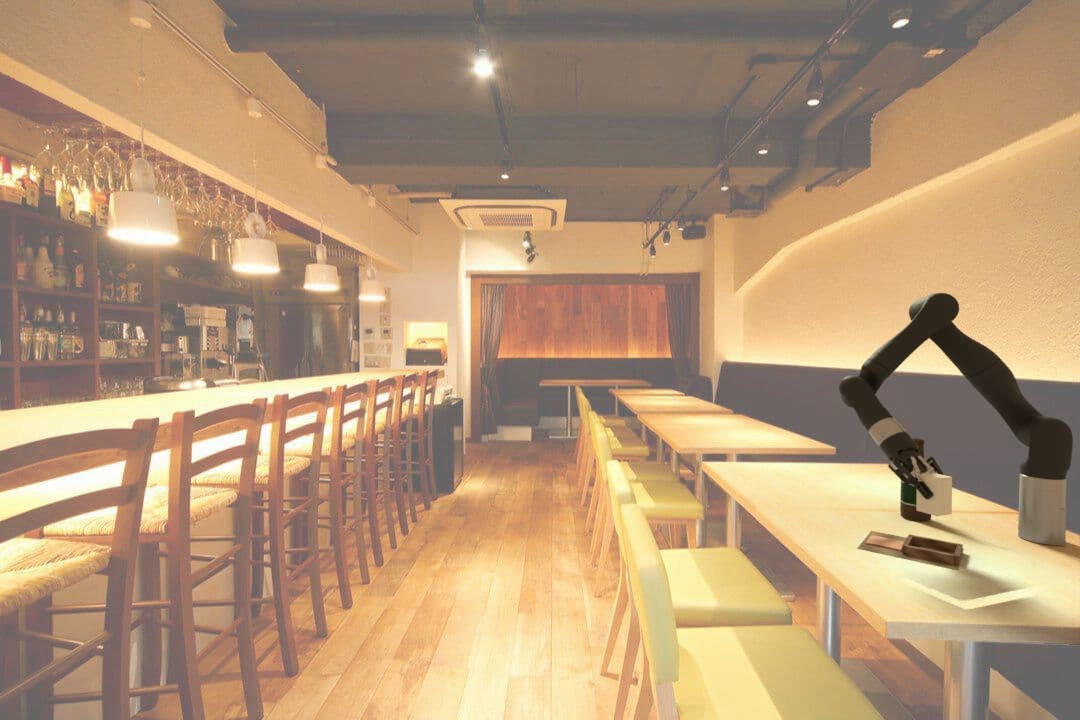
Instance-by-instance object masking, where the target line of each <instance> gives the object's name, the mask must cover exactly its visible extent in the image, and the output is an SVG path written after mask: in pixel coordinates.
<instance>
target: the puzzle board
mask: <svg viewBox="0 0 1080 720" xmlns="http://www.w3.org/2000/svg"><path fill="white" fill-rule="evenodd" d="M963 546H964V545H963V544H961V543H957V542H951V541H946V540H941V539H936V538H931V537H926V536H920V535H916V534H915V535H914V534H911V533H909V534H908V535H907V537H905V536H899V535H894V534H890V533H885V532H878V531H874V530H871V531H869V533H868V534H867V536H866V537H865V538H864V539H863V540H862V541H861V543H860V544H859V545H858V546H857V548H856V549H858V550H861V551H866V552H870V553H871V552H872V553H876V554H881V555H885V556H889V557H893V558H899V559H904V560H907V561H911V562H918V563H921V564H927V565H933V566H935V567H941V568H945V569H950V570H953V571H959V568H960V563H961V560H962V556H963V552H964V548H963Z"/></svg>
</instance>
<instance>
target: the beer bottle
mask: <svg viewBox="0 0 1080 720" xmlns="http://www.w3.org/2000/svg"><path fill="white" fill-rule="evenodd" d="M912 439H913V440H914V441H915V442H916V444H917V445H918V453H919V454H920V455H922V456H923V457H924V458H925V449H924V446H925V445H924V444H925V440H924V439H922V438H912ZM927 471H928V470H927V468H926V470H925V471H924V472H923V473H925V472H927ZM903 476H904V477H905V478H906V476H905V474H903ZM906 479H907V478H906ZM899 501H900V502H899V503H900V506H899V508H900V516H901V517H902V518H903V519H906V520H908V519H909V521H913V522H923V523H926V522H929V521H931V520H932V515H931V514H927V513H924V512H920V511H917V510H916V502H917V488H916V487H914V486H912V485H911V484H908V485H906V484H905V483H904V482H903V481H902V480H901V479H900V499H899Z"/></svg>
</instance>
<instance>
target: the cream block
mask: <svg viewBox="0 0 1080 720" xmlns="http://www.w3.org/2000/svg"><path fill="white" fill-rule="evenodd" d="M936 473H937V472H935V473H922V474H919V476H920V477H921V478H922V482H924V483H925V484H926V485H927V486H928V488H929V489H930V490H931V491H932V493H933V494H934V495H933V497H931V498H930V499H925V498H924V497H923V496H922V495H921V493H920V492H919V491H918V490H917V502H916V510H917V511H920V512H924V513H927V514H931V516H935V517H940V516H941V517H942V516H948V515H952V511H953V510H952V509H953V508H952V507H953V502H952V501H953V477H952V476H950V475H945V474H944V475H941V474H938V473H937V474H936Z"/></svg>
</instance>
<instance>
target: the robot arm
mask: <svg viewBox="0 0 1080 720" xmlns="http://www.w3.org/2000/svg"><path fill="white" fill-rule="evenodd" d="M959 312H960V304H959V301H958V300H957V299H956V297H955V296H954V295H951V294H949V293H946V292H938V293H937V292H936V293H932V294H929V295H926V296H923V297H921V298H918V299H916V300H915V301H913V302H912V303H911V304H910V305H909V308H908V317H909V319H910V322H909V323H908V324H907V325H906V326H905V327H903V328H902V329H901V330H900V331H899V332H898V333H896V334H895V335H894V336H893V337H891V338H889V340H887V341H885V342H884V343H883V344H881V346H879V348H877V349H876V350H875V351H874V352H873V353H872V354H871V355H870V356H869V357H868V358H867V359H866V360H865V362H863V364H862V365H861V368H860V373H859V374H858V375H855V374H853V375H852V374H851V375H847V376H845V377H844V378H842V380H840V382H839V385H838V389H839V390H838V391H839V392H840V393H839V394H840V396H841V399H842V402H843V404H845V405H846V406H847V407H849V408H852V409H854V411H855V413H856V415H857V417H858V420H859V421H860V423H861V424H862V425H863V427H864V428H865V429H866V430H867V432H868V433H869V434H870V436H871V438H872V439H873V441H874V443H876V445H877V446H878V448H879V449H880V450H881V451H882V453H883V454H884V455H885V456H886V458H887V459H888V461H890V462H891V463H890V464H888V465H887V466H888V468H889V469H890V470H891V471H892V473H893V474H895V475H896V477H898V478H899V479H900V481H901V480H902V481H903V482H904V483H905V484H906V485H908V484H911V485H912V486H914V487H916V488H917V490H918V491H919V492H920V493H921V495H922V496H923V497H924V498H925V499H930V498H931V497H933V495H934V494H933V493H932V491H931V490H930V489H929V488H928V486H927V485H926V484H925V483H924V482H922V478H921V477H920V476H919V474H922V473H923V472H924V471H925V470H926V468H927V470H928V471H927V472H925V473H936V474H941V475H945V474H944V472H943V471H942V469H941V467H940V466H939V464H938V462H937V461H936V459H935V458H934V456H930V457H925V456H924V457H923V456H922V455H920V454H919V453H918V445H917V444H916V442H915V441H914V440H913V438H912V436H911V435H910V434H909V432H907V430H906V429H905V428H904V427H903V425H902V424H900V422H899V421H897V420H896V419H895V417H894V416H893V415H892V414H891V412H890V411H889V410H888V409H887V408H886V407H885V406H884V405H883V404H882V402H881V401H880V399H879V398H878V396H877V395H876V394H877V393H878V391H879V390H880V388H881V386H882V385H883V383H884V382H885V380H887V379H888V378H889V377H890V376H891V375H892V374H893V373H894V372H895V371H896V370H898V368H899V367H900V366H901V365H902V364H903V363H904V361H906V360H907V359H908V358H909V357H910V356H911V355H913V353H914V352H915V351H916V350H917V349H919V347H921V346H922V345H923V344H924V343H925V342H926V341H928V339H929V340H930V341H931V342H933V343H934V345H936V346H937V347H938V348H939V349H940V350H941V351H942V352H943V354H944V355H945V356H946V357H947V358H948V359H949V361H951V362H952V364H954V366H955V367H956V368H957V369H958V371H960V373H961V374H962V376H964V378H965V379H966V380H967V381H968V382H969V383H970V385H971V386H972V387H973V388H974V389H975V390H976V391H977V392H978V393H979V394H980V395H981V396H982V398H984V399H985V400H986V401H987V402H988V404H990V405H991V407H993V408H994V409H995V411H996V412H997V413H998V414H999V415H1000V417H1001V418H1002V420H1003V421H1004V422H1005V423H1006V425H1007V426H1008V427H1009V429H1010V430H1011V432H1012V433H1013V435H1014V436H1015V437H1016V439H1017V440H1018V441H1019V442H1020V443H1021V444H1023V445H1024V446H1026V447H1028V454H1027V459H1026V460H1025V461H1024V462H1021V463H1020V465H1019V486H1018V487H1019V488H1018V490H1019V491H1018V493H1019V496H1018V527H1017V536H1018V537H1019V538H1021V539H1024V540H1026V541H1029V542H1033V543H1037V544H1041V545H1048V546H1049V544H1050V546H1061V545H1062V547H1066V532H1067V508H1066V504H1067V503H1066V502H1067V501H1066V500H1067V474H1068V472H1069V470H1070V468H1071V466H1072V458H1073V442H1074V438H1073V433H1072V429H1071V428H1070V426H1069V425H1068V423H1066V422H1065V421H1064V420H1062V419H1060V418H1055V417H1049V416H1045V415H1044V414H1042V413H1040V411H1038V410H1037V409H1036V407H1034V406H1033V405H1032V404H1031V403H1030V402H1029V401H1028V400H1027V399H1026V398H1025V396H1024V395H1023V393H1022V392H1021V391H1022V390H1021V389H1020V387H1019V385H1018V382H1017V379H1016V377H1015V375H1014V373H1013V372H1012V370H1011V369H1010V367H1009V366H1008V365H1007V364H1006V363H1005V362H1004V361H1003V360H1002V359H1001V358H1000V356H998V354H997V353H995V352H994V351H993V350H992V349H991V348H989V347H987V346H986V345H984V344H983V343H980V342H979V341H977V340H975V339H974V338H972V337H970V336H968V335H967V334H966V333H964V332H963V331H962V330H960V328H958V327H957V326H956V324H955V323H954V322H953V321H955V319H956V318H957V317H958V314H959ZM903 474H905V476H906V478H907V479H906V478H905V477H904V476H903Z"/></svg>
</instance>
